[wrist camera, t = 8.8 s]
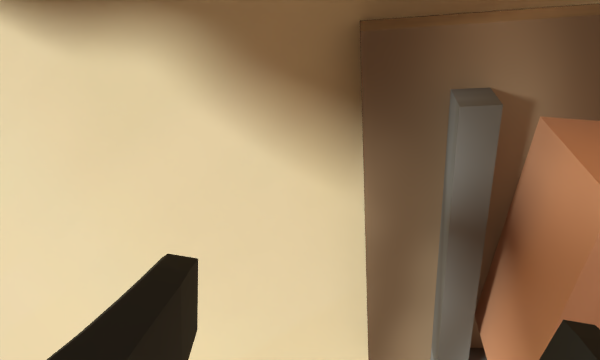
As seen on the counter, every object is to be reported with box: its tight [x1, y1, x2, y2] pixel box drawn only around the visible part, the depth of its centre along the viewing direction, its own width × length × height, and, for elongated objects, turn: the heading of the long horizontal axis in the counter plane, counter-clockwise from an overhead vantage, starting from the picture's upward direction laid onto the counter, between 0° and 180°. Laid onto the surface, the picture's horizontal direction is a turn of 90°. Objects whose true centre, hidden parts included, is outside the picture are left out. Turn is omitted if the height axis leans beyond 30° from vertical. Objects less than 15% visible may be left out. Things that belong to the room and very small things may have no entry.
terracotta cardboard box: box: [474, 116, 600, 360], centre depth 15 cm, size 4×9×5 cm, turn 178°
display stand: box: [360, 4, 600, 360], centre depth 17 cm, size 14×16×3 cm
